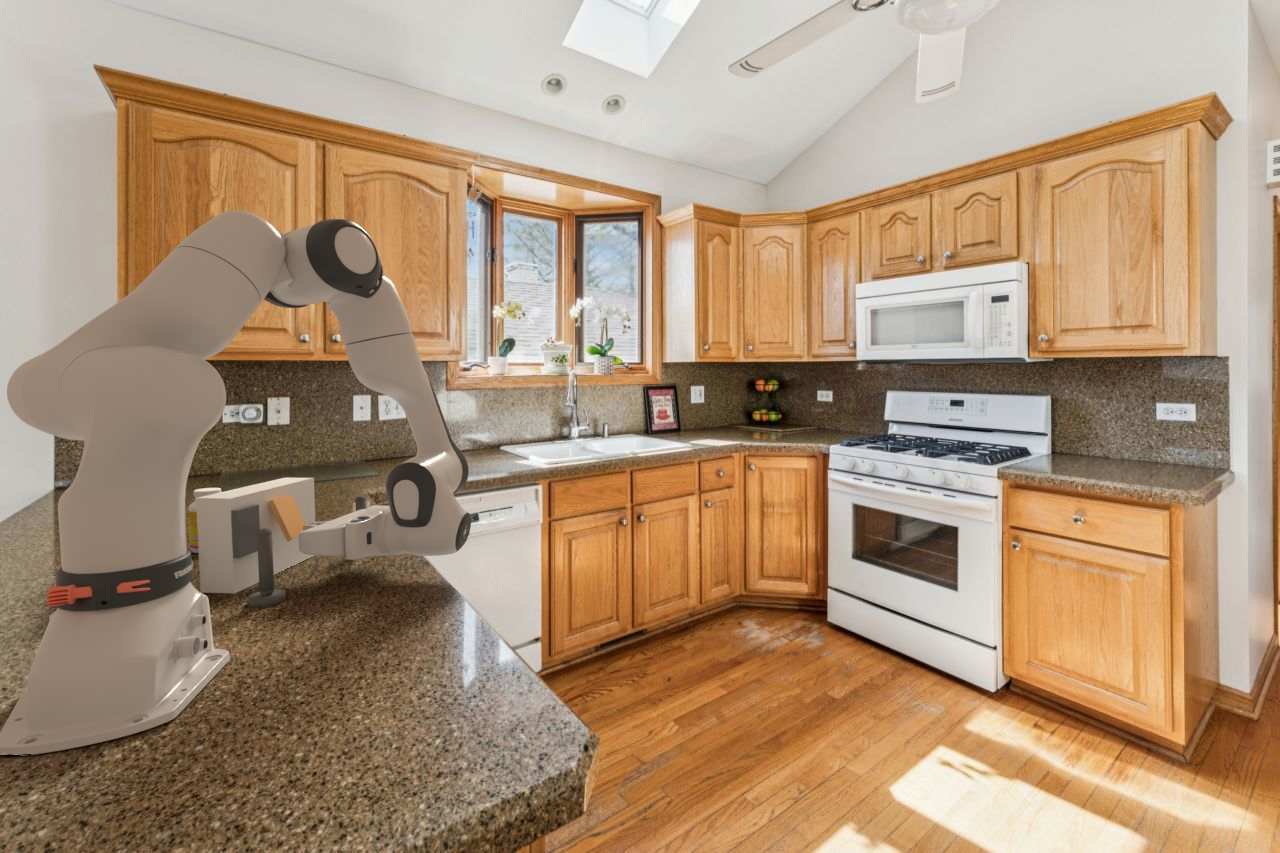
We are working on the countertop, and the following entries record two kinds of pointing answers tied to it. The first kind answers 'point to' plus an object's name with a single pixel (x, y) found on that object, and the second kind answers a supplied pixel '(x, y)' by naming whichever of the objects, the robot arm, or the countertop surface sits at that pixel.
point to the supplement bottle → (193, 516)
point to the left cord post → (266, 574)
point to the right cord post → (360, 502)
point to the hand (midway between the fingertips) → (307, 528)
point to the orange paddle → (287, 516)
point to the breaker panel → (217, 528)
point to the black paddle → (245, 530)
